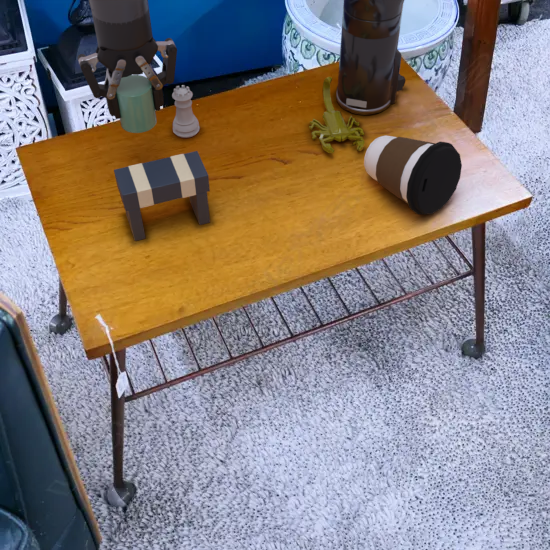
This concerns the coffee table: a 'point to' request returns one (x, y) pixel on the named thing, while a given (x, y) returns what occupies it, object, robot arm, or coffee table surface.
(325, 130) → the scorpion
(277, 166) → the coffee table surface
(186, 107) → the rook chess piece
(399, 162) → the coffee cup
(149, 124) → the mint green cylinder
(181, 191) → the barricade
